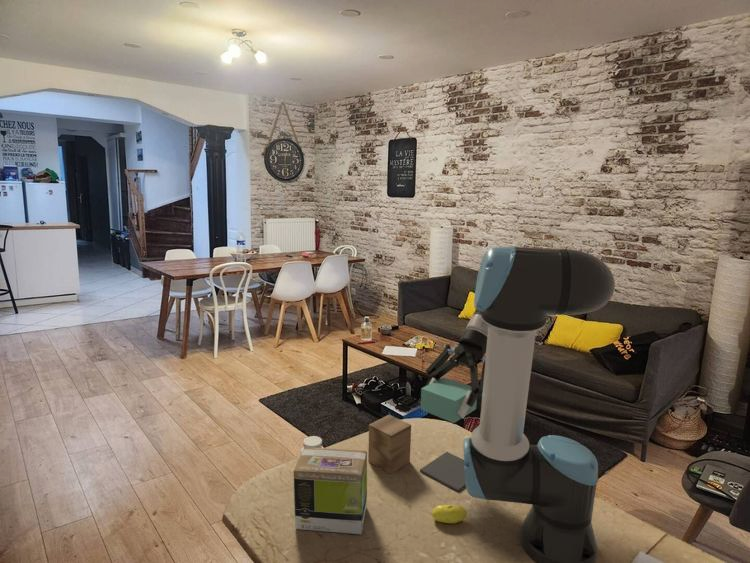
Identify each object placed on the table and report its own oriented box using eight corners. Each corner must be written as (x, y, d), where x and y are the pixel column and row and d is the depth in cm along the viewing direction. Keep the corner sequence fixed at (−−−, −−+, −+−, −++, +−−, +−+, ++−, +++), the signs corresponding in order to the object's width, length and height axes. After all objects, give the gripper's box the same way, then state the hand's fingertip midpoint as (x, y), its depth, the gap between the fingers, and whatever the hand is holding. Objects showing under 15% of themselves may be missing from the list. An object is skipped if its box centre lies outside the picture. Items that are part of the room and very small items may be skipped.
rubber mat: (484, 471, 130) (484, 469, 130) (458, 492, 122) (458, 489, 122) (446, 453, 138) (446, 451, 138) (420, 471, 130) (420, 469, 130)
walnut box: (409, 461, 134) (411, 424, 132) (390, 474, 128) (391, 435, 126) (388, 450, 139) (389, 414, 137) (368, 461, 134) (368, 424, 131)
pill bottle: (317, 469, 130) (317, 431, 127) (329, 481, 125) (329, 442, 122) (296, 478, 126) (295, 438, 124) (308, 490, 121) (307, 450, 119)
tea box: (367, 506, 116) (368, 449, 113) (361, 536, 106) (362, 475, 103) (304, 500, 118) (303, 444, 114) (293, 530, 108) (292, 470, 105)
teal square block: (476, 409, 127) (477, 388, 126) (453, 423, 120) (455, 401, 118) (443, 396, 134) (444, 376, 133) (420, 409, 126) (421, 388, 125)
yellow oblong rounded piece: (430, 513, 114) (431, 498, 113) (465, 515, 114) (466, 500, 113) (432, 526, 110) (432, 511, 109) (468, 528, 110) (469, 513, 109)
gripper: (521, 353, 127) (486, 430, 119) (447, 333, 142) (412, 400, 134) (513, 338, 122) (476, 418, 114) (438, 319, 137) (400, 388, 129)
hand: (441, 408), depth 124 cm, fingers closed on teal square block, 10 cm apart
